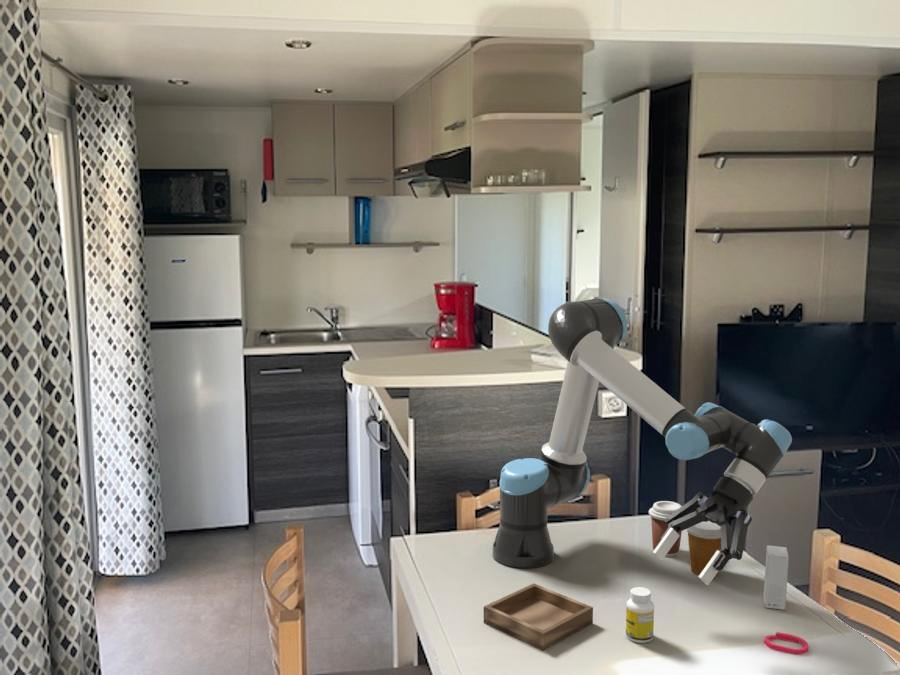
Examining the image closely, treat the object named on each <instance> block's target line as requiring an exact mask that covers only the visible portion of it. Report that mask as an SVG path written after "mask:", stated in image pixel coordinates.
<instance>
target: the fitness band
mask: <svg viewBox="0 0 900 675" xmlns="http://www.w3.org/2000/svg"><path fill="white" fill-rule="evenodd" d="M763 639H764V641H763V643H764V645H765V646H766V647H767V648H769V649H771V650H774V651H778V652H780V653H781V652H783V653H786V654H787V653H788V654H792V655H804V654H807V653H808V652H809V647H810V646H809V643H808V642H807V640H805V639H804V638H802V637H800V636H797V635H794V634H789V633H784V632H780V631H775V634H770V635H766V636H765V637H764V638H763ZM771 640H781V641H787V642H792V643H796V644H799V643H800V644H801V645H803V647H801V648H793V647H788V646H785V645H784V646H783V645H780V644H776V643H773V642H772V641H771Z"/></svg>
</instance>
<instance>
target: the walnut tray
mask: <svg viewBox="0 0 900 675" xmlns="http://www.w3.org/2000/svg"><path fill="white" fill-rule="evenodd" d="M593 621H594V607H593V606H590V605H588V604H586V603H583V602H581V601H579V600H575V599H573V598H571V597H568V596H566V595H563V594H561V593H559V592H556V591H554V590H551V589H549V588H547V587H543V586H541V585H539V584H536V583H532V584H529V585H527V586H525V587H523V588H521V589H519V590H516V591H514V592H512V593H510V594H508V595H505V596H503V597H502V598H498V599H497V600H495V601H492V602H490V603H489V604H486V605H483V623H484V624H485V625H488V626H490V627H492V628H494V629H497V630H499V631H501V632H502V633H504V634H507V635H510V636H511V637H513V638H516V639H518V640H520V641H522V642H525V643H526V644H529V645H531V646H533V647H534V648H536V649H538V650H541V651H545V650H547V649H549V648H551V647H553V646H554V645H556V644H558V643H559V642H562V641H563V640H565V639H567V638H569V637H570V636H573V635H574V634H576V633H578V632H579V631H582V630H584V629H586V627H589V626H591V625H592V624H593V623H594V622H593Z"/></svg>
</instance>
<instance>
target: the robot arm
mask: <svg viewBox="0 0 900 675" xmlns="http://www.w3.org/2000/svg"><path fill="white" fill-rule="evenodd" d="M547 329H548V330H547V332H548V336H549V339H550V342H551V344H552V346H553V347H554V348H555V350H556V351H557V353H559V354H560V355H561V357H563V358H564V359H565V360H566V361H567V363H566V368H565V372H564V375H563V376H564V377H563V380H562V384H561V389H560V393H559V399H558V401H557V406H556V411H555V413H554V420H553V422H552V423H553V424H552V429H551V432H550V437H549V441H548V442H547V443H544V444H543V445H542V446H541V449H540V454H539V458H534V457H533V458H532V457H529V458H528V457H525V458H522V459H521V458H518V459H514V460H511V461H510V462H507V463H506V464H505V465H504V466H503V467H502V469H501V471H500V480H499V526H498V529H497V533H496V536H495V538H494V541H493V543H492V558H493V559H494V560H495V561H496V562H498V563H499V564H502V565H504V566H509V567H513V568H519V569H520V568H522V569H533V568H538V567H543V566H546V565H548V564H550V563H551V562H552V561H553V560H554V558H555V556H554V554H555V548H554V545H553V543H552V539H551V536H550V532H549V528H548V510H549V509H550V508H553V507H556V506H558V505H561V504H564V503H566V502H569V501H572V500H574V499H575V498H577V497H578V496H580V495H582V494H583V493H584V492H585V491H586V489H587V487H588V486H589V484H590V479H591V470H590V468H589V467H588V466H589V464H588V462H587V459H588V458H587V455H586V453H585V452H584V450H583V448H584V444H585V441H586V437H587V432H588V427H589V424H590V421H591V417H592V412H593V409H594V403H595V401H596V395H597V392H598V388H599V385H600V384H602V385H603V387H605V388H606V389H607V390H608V391H610V392H611V393H612V394H613V395H615V396H616V397H617V398H618V399H619V400H620V401H622V402H623V403H624V404H625V405H627V406H628V407H629V408H630V409H632V411H634V413H636V414H637V416H639V417H640V418H641V419H643V420H644V421H645V422H646V423H647V424H648V425H650V426H651V427H652V428H653V429H655V430H656V431H657V433H660V435H662V436H663V437H664V438H665V445H666V446H665V447H666V448H667V449H668V452H669V454H670V455H671V456H672V457H674V458H676V459H678V460H681V461H689V460H694V459H698V458H701V457H702V456H704V455H705V454H708V453H709V452H713V451H716V450H718V449H720V448H723V449H725V450H727V451H729V452H731V453H732V454H734V455H735V457H734V459H733V460H732V462H731V463H730V464H729V465H728V467H727V468H726V469H725V471H724V473H723V475H724V476H721V477H719V478H718V481H717V482H716V483H715V485H714V486H713V488H712V494H711V495H710V496H709V497H707V496H706V495H704V494H703V492H701V491H699V492H698V493H696V494H695V496H694V497H693V498H692V499H691V500H689V501H688V502H686V503H684V505H681V506H682V507H681V508H679V509H678V510H676V511H675V512H673V513H672V514H670V515H669V516H668V517H666V518H665V521H666V523H667V524H668V526H669V527H668V529H667V530H666V532H665V533H664V534H663V536H662V537H661V541H660V543H659V544H658V546H657V547H656V548H655V550H654V551H653V550H652V553H653V554H654V555H655V556H656V557H657V558H658V559H659V560H661V561H663V560H664V559H665V557H667V556H666V554H667V553H668V551H669V550H670V549H671V547H672V546H673V544H674V543H675V542H676V540H677V539H678V538H679V536H680V535H679V532H681V531H682V532H683V531H685V530H687V528H690V527H692V526H694V525H696V524H699V523H701V522H707V521H710V522H712V523H716V524H717V525H718V526H720V527H721V549H722V550H721V549H720V550H721V551H722V553H721V552H720V551H718V550H717V551H716V553H715V554H714V555H713V557H712V558H711V560H710V561H709V562H708V564H707V565H706V567H705V568H704V570H703V571H702V572H701V574H700V575H698V578H699V579H700V580H701V581H702V582H703V583H704V584H705V585H706V586H709V585H710V584H711V582H712V581H713V579H714V578H715V577H716V576H715V575H716V574H717V572H718V571H719V573H720V572H721V571H723V569H724V568H725V567H726V565H727V564H728V562H729V561H730V560H733V559H736V560H737V561H740V560H742V558H743V553H744V548H745V544H746V537H747V533H748V528H749V526H750V524H751V522H752V520H753V518H752V516H751V515H750V514H749V513H748V511H746V509H747V508H748V507H749V505H750V504H751V502H752V501H753V500H754V497H753V496H756V495H757V493H759V491H760V489H761V488H762V487H763V485H764V484H765V483H766V480H767V479H768V478H769V477H770V475H771V473H772V472H773V471H774V470H775V468H776V467H777V466H778V465H779V463H780V462H781V460H782V459H783V458H784V457H785V454H786V453H787V451H788V449H789V448H790V446H791V444H792V441H793V438H792V435H791V433H790V431H789V430H788V429H787V428H786V427H784V426H783V425H781V424H780V423H778V422H777V421H774V420H771V419H763V420H761V421H760V422H759V423H758V424H757V425H756V424H755V423H754V422H753V423H752V422H751V421H750V422H749V421H747V420H746V419H745V418H742V417H740V416H738V415H737V414H735V413H733V412H732V411H729V410H728V409H726V408H725V407H723V406H721V405H717V404H716V403H712V402H705V403H703V404H702V405H701V406H700V407H699V408H698V409H697V410H696V411H695V414H693V413H692V411H690V410H688V409H687V408H686V407H685V406H684V405H682V404H681V403H680V402H678V401H677V399H675V398H673V397H672V396H671V395H670V394H668V393H667V392H666V391H665V390H664V389H662V387H660V386H659V385H658V384H657V383H656V382H654V381H653V380H651V378H649V377H648V376H647V375H646V374H645V373H643V372H642V371H641V370H640V369H638V368H637V366H635V365H633V363H631V362H630V361H629V360H628V359H626V358H625V356H624V357H623V356H622V354H620V352H618V351H616V350H615V345H618V344H619V343H620V342H621V341H623V339H624V338H625V337H626V334H627V332H628V319H627V315H626V313H625V312H624V310H623V308H622V307H621V305H620V304H618V303H617V302H616V301H614V300H613V299H610V298H600V297H594V298H591V299H584V300H579V301H568V302H565V303H563V304H561V305H559V306H558V307H557V308H556V309H555V310H554V311H553V312H552V314H551V315H550V317H549V321H548V326H547ZM599 383H600V384H599ZM672 520H673V521H672ZM735 520H736V521H735ZM734 521H735V526H734V525H733V524H734V523H733V522H734ZM677 526H678V527H677ZM733 530H734V531H733Z"/></svg>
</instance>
